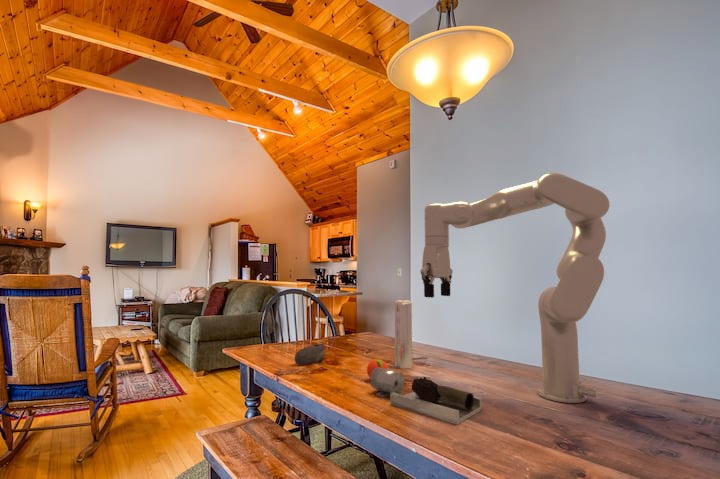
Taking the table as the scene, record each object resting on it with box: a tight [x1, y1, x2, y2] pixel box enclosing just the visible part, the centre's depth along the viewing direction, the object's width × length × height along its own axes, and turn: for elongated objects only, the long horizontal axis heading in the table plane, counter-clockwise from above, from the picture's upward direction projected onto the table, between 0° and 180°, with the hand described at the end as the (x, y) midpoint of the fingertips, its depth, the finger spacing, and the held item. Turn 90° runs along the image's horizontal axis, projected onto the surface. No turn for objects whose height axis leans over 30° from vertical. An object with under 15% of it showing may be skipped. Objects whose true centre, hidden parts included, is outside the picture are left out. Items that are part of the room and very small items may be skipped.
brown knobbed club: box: [411, 376, 475, 410], centre depth 102 cm, size 18×7×6 cm, turn 46°
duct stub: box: [369, 367, 406, 398], centre depth 113 cm, size 8×7×7 cm
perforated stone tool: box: [294, 343, 326, 366], centre depth 150 cm, size 15×5×7 cm, turn 135°
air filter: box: [394, 299, 413, 370], centre depth 145 cm, size 6×6×25 cm
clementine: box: [366, 358, 388, 378], centre depth 126 cm, size 8×7×7 cm
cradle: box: [389, 391, 483, 425], centre depth 102 cm, size 20×13×3 cm
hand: (437, 296), depth 120 cm, fingers open, 9 cm apart
